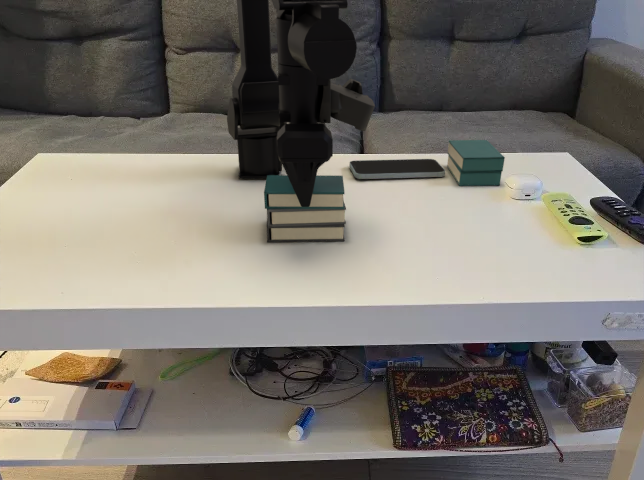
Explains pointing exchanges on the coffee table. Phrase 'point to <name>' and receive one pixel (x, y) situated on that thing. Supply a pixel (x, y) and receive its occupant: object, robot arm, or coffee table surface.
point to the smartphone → (396, 168)
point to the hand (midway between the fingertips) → (304, 193)
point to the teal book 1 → (323, 197)
